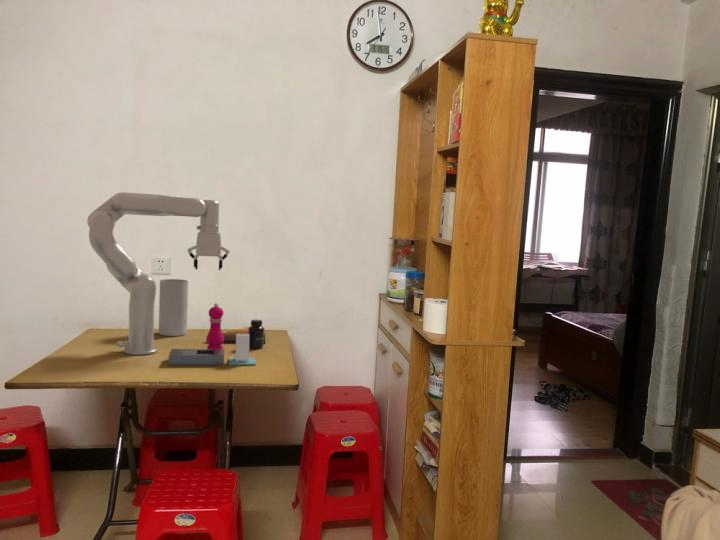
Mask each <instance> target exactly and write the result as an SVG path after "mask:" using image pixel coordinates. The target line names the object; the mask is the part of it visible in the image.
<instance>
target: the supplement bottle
mask: <svg viewBox="0 0 720 540" xmlns="http://www.w3.org/2000/svg"><path fill="white" fill-rule="evenodd" d="M248 327H249V328H248V334H249V336H250V337H249V350H250V349H251V350H260V349H263V348H264V344H263V340H264V328H265V327H263V320H262V319H251V320H250V326H248Z"/></svg>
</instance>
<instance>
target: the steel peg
mask: <svg viewBox="0 0 720 540" xmlns="http://www.w3.org/2000/svg"><path fill="white" fill-rule="evenodd" d="M249 337H250V336H249V334H236V343H235V356H234V357H235V362H249V357H250V348H249Z"/></svg>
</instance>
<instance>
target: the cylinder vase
mask: <svg viewBox="0 0 720 540" xmlns="http://www.w3.org/2000/svg"><path fill="white" fill-rule="evenodd" d="M188 296H189V280H187V279H182V278H181V279H179V278H176V279H175V278H167V279H164V278H163V279H160V280H159V296H158V298H159V307H158V308H159V309H158V334H159V335H160V336H165V337H181V335H182V336H184V335H186V334H187V333H188V308H189V307H188V301H189V299H188V298H189V297H188Z"/></svg>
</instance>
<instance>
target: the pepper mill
mask: <svg viewBox="0 0 720 540" xmlns="http://www.w3.org/2000/svg"><path fill="white" fill-rule="evenodd" d="M208 316H209V317H210V318H209V323H210V328H209V331H208V332H207V335H206V344H207V347H206V349H224V348H223V347H224V346H223V345H222V344H224V343H223V342H224V336H223V334H222V333H223V331H222V327H221V324H222V322H223V316H224V310H223V309H222V307H220V306H219V303H214V304H213V307H211V308H210V309H209V310H208Z"/></svg>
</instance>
